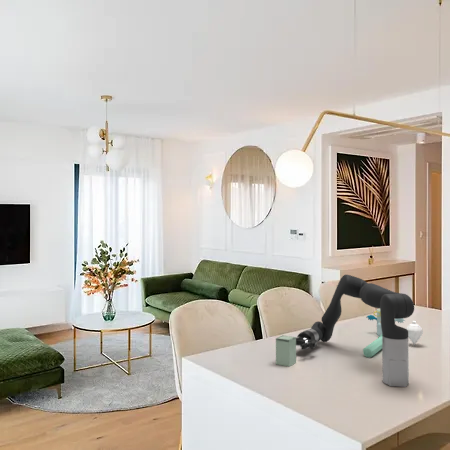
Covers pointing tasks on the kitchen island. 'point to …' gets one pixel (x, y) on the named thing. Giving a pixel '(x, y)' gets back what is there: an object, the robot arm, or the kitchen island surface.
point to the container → (373, 347)
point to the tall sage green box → (286, 350)
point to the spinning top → (414, 332)
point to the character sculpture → (378, 319)
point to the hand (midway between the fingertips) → (293, 346)
